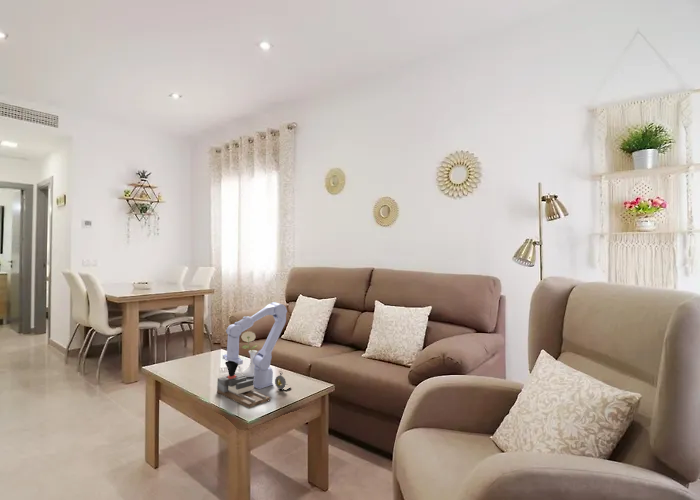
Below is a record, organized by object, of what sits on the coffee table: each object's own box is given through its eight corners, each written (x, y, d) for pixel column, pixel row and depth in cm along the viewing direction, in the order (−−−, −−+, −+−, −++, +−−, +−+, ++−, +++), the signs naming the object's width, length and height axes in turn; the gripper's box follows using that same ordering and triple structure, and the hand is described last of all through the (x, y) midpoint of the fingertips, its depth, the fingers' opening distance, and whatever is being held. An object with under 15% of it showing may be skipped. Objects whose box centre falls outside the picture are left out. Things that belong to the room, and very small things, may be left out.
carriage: (244, 385, 189) (244, 376, 189) (253, 389, 184) (254, 380, 184) (228, 389, 182) (228, 380, 182) (237, 394, 177) (238, 384, 177)
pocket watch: (291, 386, 198) (292, 367, 198) (289, 392, 190) (290, 372, 190) (276, 386, 198) (277, 367, 198) (273, 391, 189) (274, 372, 190)
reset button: (232, 382, 191) (232, 374, 191) (236, 383, 189) (237, 375, 189) (226, 383, 188) (226, 375, 188) (230, 385, 186) (230, 377, 186)
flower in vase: (264, 373, 218) (266, 330, 218) (258, 379, 206) (260, 334, 207) (243, 371, 219) (245, 328, 219) (235, 377, 208) (237, 332, 208)
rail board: (237, 386, 195) (238, 372, 195) (270, 400, 178) (270, 385, 179) (217, 392, 186) (217, 378, 186) (248, 407, 169) (249, 392, 169)
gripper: (217, 347, 190) (216, 374, 190) (234, 353, 181) (233, 381, 181) (230, 345, 196) (228, 371, 195) (246, 350, 186) (245, 377, 186)
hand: (231, 375), depth 188 cm, fingers closed, pressing on reset button
